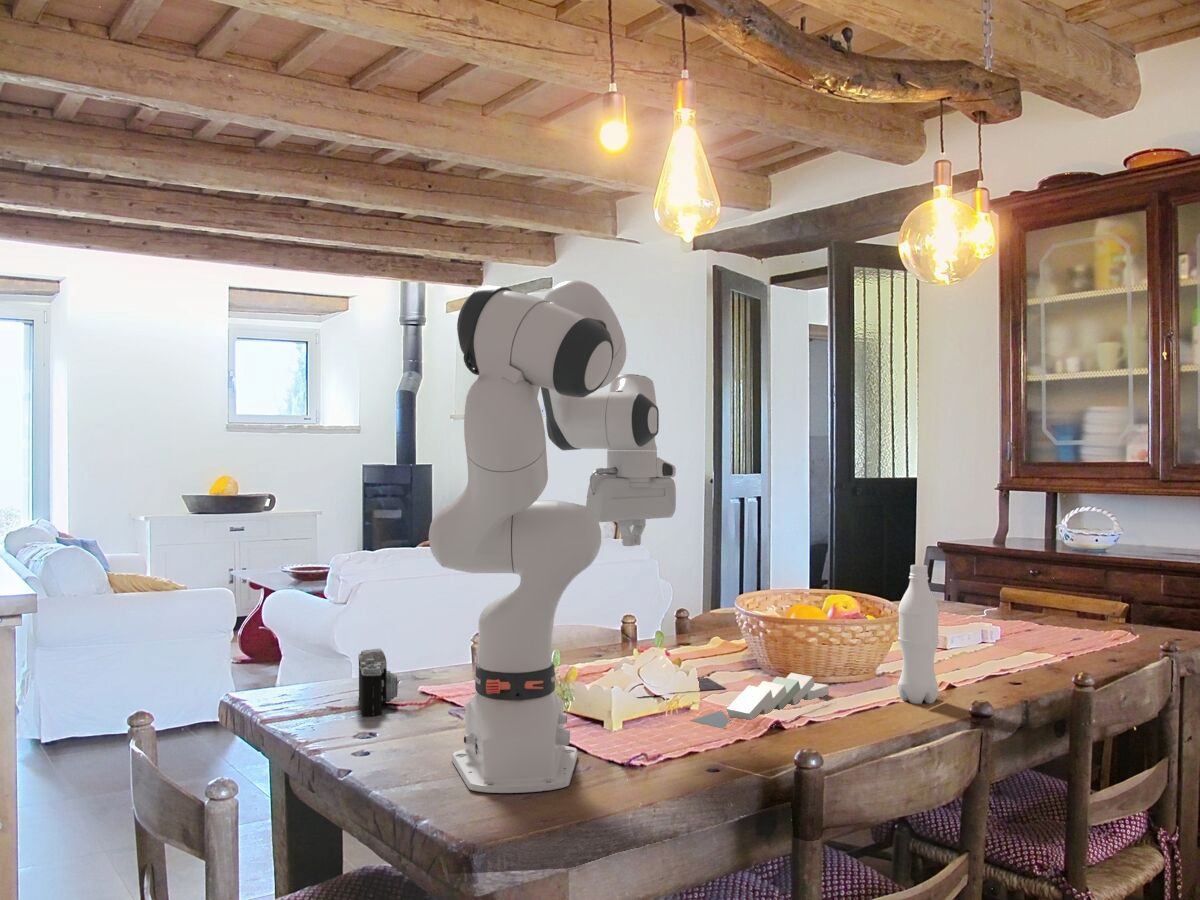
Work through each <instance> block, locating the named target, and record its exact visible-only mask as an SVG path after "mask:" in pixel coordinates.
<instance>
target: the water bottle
mask: <svg viewBox="0 0 1200 900" xmlns="http://www.w3.org/2000/svg"><path fill="white" fill-rule="evenodd" d="M908 579H909V583H908V587H907V589H906V590H905V592H904V594H903V596H902V598H901V600H900V601H899V604H898V610H897V611H898V637H897V641H898V644H899V646H900V649H901V653H902V655H901V656H902V667H901V668H902V669H901V674H900V678H899V680H898V681H897V690H898V693H899V697H900V699H901V700H902V701H905V702H907V701H909V702H910V704H916V705H922V703H923V701H924V702H925V704H926V703H927V704H933V703H934V702H936V699H937V697H938V694H939V683H938V681H937V678H936V673H935V662H934V661H935V654H936V651H937V648H938V647H939V644H940V640H939V615H940V608H939V606H938V603H937V601H936V598H935V596H934V595H933V593H932V591H931V589H930V585H929V579H930V577H929V574H928V565H925V564H911V565H910V572H909V576H908Z"/></svg>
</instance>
